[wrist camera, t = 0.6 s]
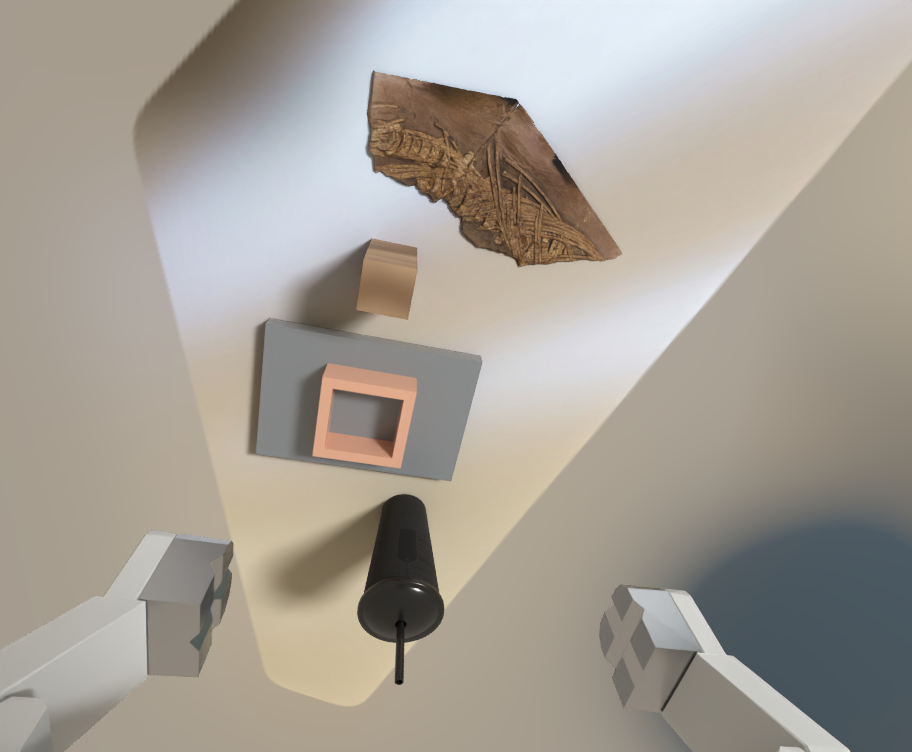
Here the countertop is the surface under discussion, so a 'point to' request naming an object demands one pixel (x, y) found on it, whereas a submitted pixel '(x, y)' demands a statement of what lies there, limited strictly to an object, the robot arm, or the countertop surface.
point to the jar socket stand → (363, 400)
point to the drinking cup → (401, 579)
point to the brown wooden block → (387, 279)
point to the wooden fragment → (484, 170)
